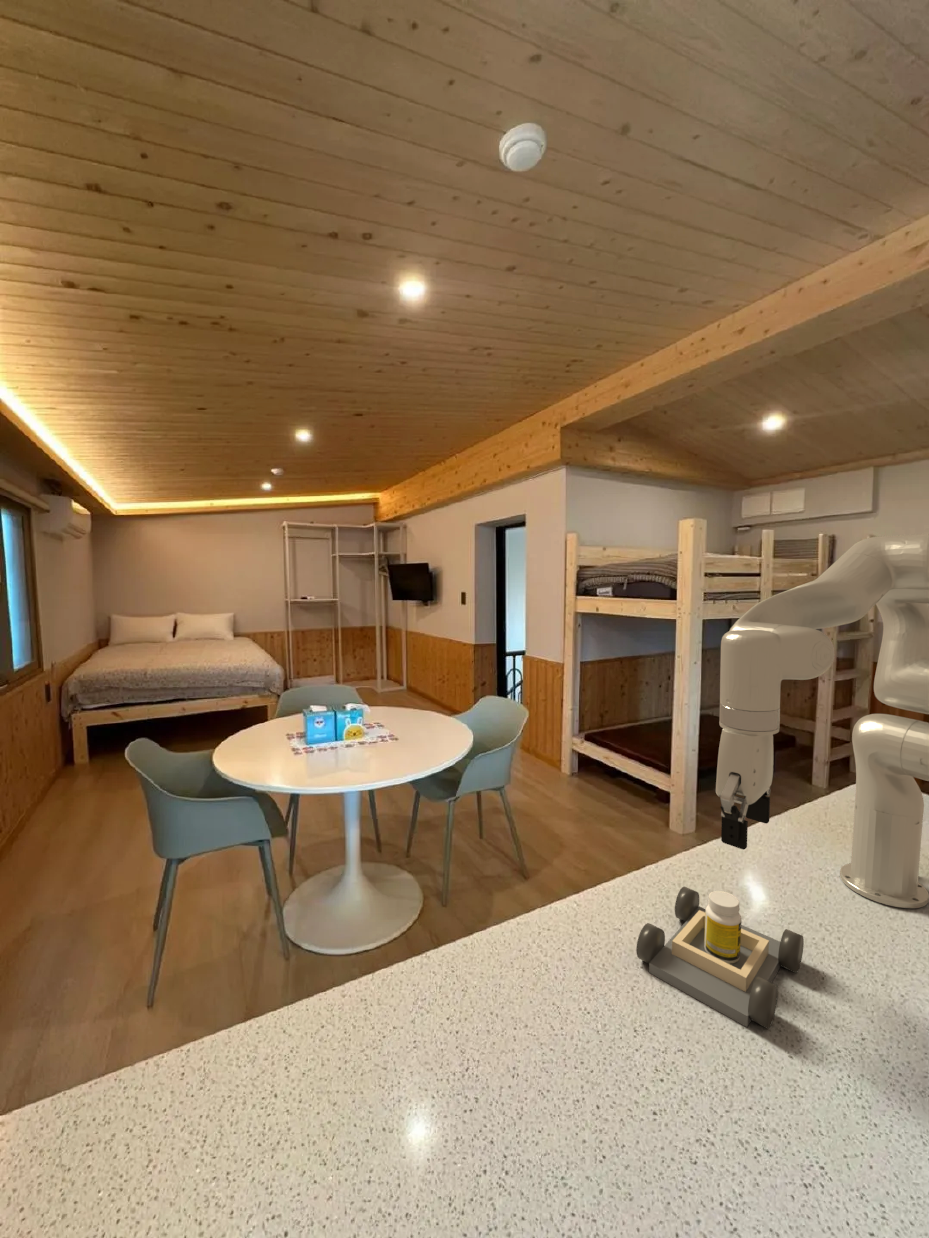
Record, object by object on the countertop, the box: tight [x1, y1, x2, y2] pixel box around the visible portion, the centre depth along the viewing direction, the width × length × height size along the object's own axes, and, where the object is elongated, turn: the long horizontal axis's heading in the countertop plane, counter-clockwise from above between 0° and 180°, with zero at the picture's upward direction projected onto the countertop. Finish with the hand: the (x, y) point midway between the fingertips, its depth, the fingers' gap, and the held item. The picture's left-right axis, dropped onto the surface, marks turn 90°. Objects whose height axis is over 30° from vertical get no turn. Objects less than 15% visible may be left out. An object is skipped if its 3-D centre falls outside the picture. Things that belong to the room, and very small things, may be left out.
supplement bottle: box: [704, 890, 742, 964], centre depth 77 cm, size 5×5×8 cm
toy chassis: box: [635, 886, 805, 1029], centre depth 78 cm, size 18×17×5 cm
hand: (745, 832), depth 77 cm, fingers open, 9 cm apart
